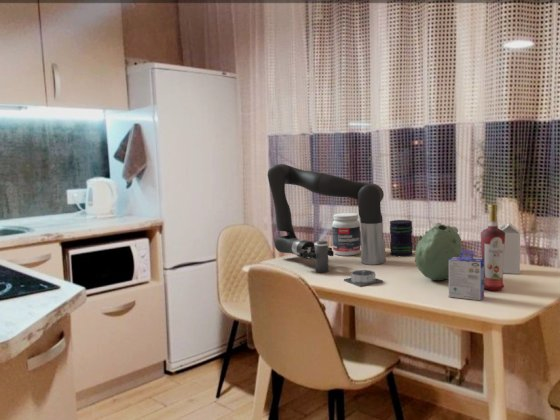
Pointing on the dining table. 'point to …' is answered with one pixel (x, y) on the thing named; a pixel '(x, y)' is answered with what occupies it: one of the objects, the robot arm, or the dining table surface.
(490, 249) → the liquor
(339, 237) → the supplement tub
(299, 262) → the dining table surface
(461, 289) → the ink cartridge box
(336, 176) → the robot arm
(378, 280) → the grey ring on plate
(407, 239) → the storage jar
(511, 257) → the milk carton
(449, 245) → the green bumpy vase
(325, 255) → the tube
